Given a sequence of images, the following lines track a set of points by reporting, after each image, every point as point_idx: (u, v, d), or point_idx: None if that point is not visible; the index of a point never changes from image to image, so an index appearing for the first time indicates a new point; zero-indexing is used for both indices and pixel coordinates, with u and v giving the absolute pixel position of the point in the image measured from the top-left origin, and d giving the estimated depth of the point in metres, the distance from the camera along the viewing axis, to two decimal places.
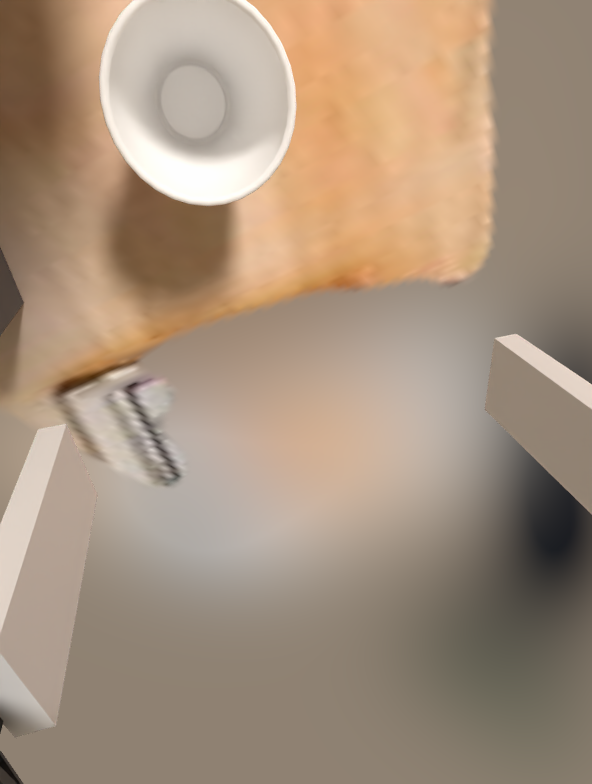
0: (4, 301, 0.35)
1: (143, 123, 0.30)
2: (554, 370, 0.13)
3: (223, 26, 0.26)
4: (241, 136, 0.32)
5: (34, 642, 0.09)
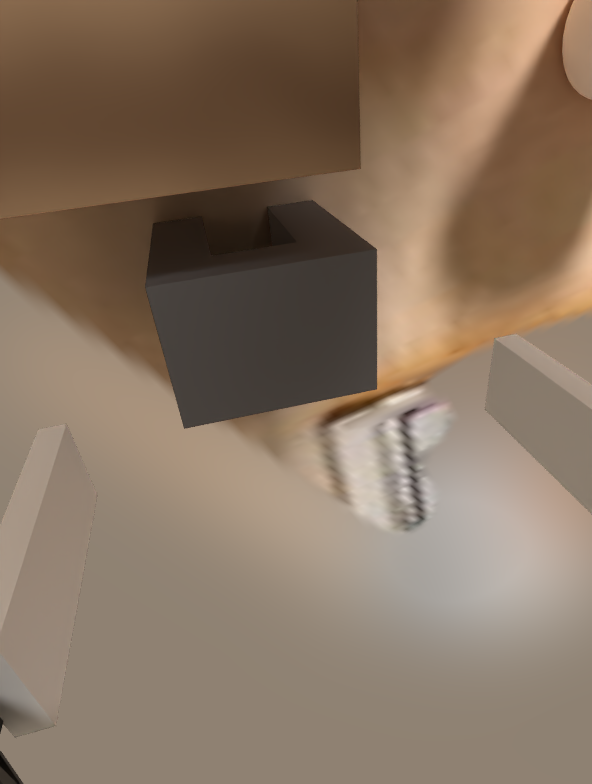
0: None
1: None
2: (554, 370, 0.13)
3: None
4: None
5: (34, 642, 0.09)
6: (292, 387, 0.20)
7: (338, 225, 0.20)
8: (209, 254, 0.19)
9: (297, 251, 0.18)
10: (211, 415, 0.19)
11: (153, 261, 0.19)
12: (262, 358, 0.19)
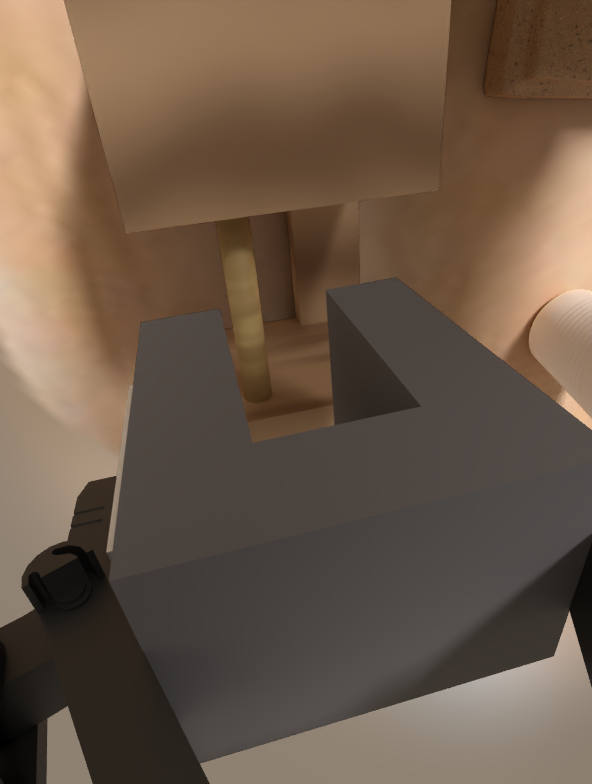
0: None
1: None
2: None
3: None
4: None
5: None
6: (405, 679, 0.10)
7: (480, 353, 0.11)
8: (248, 437, 0.09)
9: (437, 445, 0.09)
10: (250, 739, 0.10)
11: (134, 453, 0.09)
12: (357, 651, 0.09)
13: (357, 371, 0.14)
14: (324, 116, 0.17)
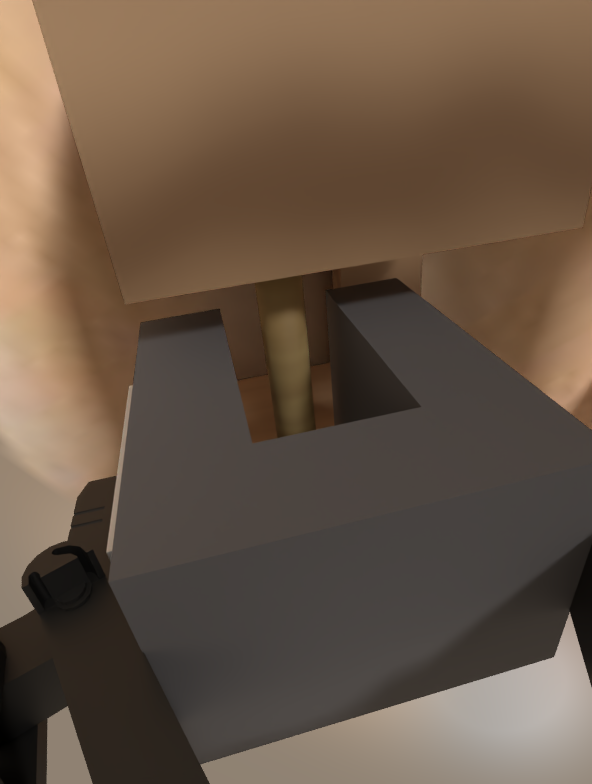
0: None
1: None
2: None
3: None
4: None
5: None
6: (406, 680, 0.10)
7: (480, 354, 0.11)
8: (248, 437, 0.09)
9: (437, 445, 0.09)
10: (250, 740, 0.10)
11: (134, 454, 0.09)
12: (356, 652, 0.09)
13: (357, 372, 0.14)
14: (431, 123, 0.11)
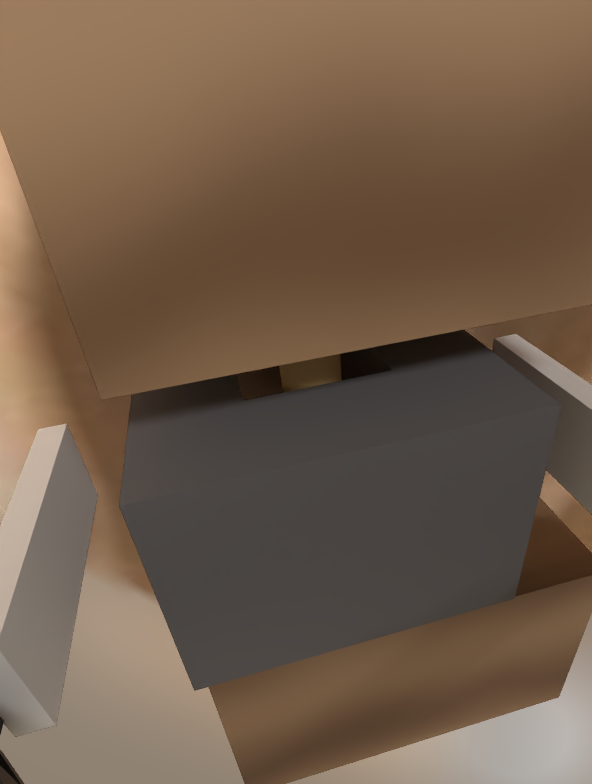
0: None
1: None
2: (553, 370, 0.13)
3: None
4: None
5: (34, 642, 0.09)
6: (380, 615, 0.11)
7: None
8: (239, 396, 0.10)
9: (403, 399, 0.10)
10: (241, 667, 0.11)
11: (138, 410, 0.10)
12: (335, 584, 0.10)
13: None
14: (543, 143, 0.07)
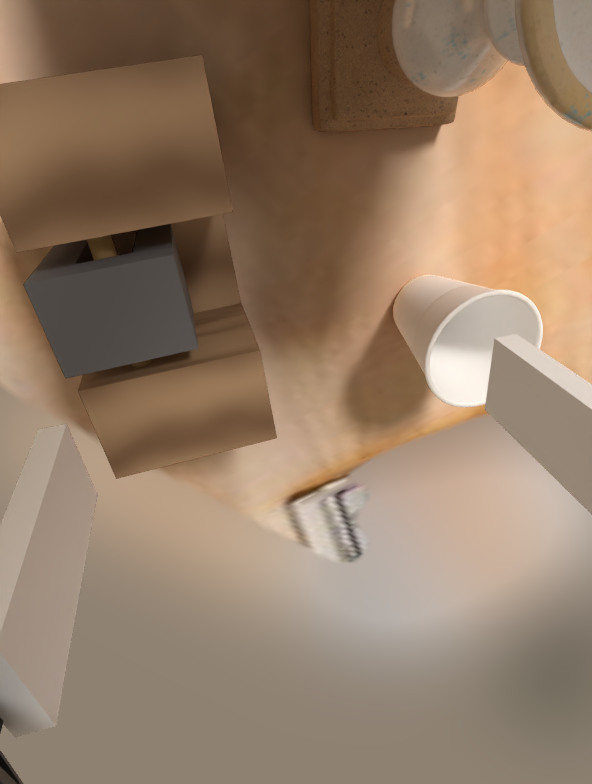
0: (188, 297, 0.35)
1: (406, 336, 0.43)
2: (554, 370, 0.13)
3: None
4: (465, 334, 0.45)
5: (34, 642, 0.09)
6: (136, 348, 0.30)
7: (167, 240, 0.31)
8: (74, 263, 0.29)
9: (127, 258, 0.28)
10: (83, 369, 0.29)
11: (38, 269, 0.29)
12: (110, 328, 0.29)
13: None
14: (138, 170, 0.26)
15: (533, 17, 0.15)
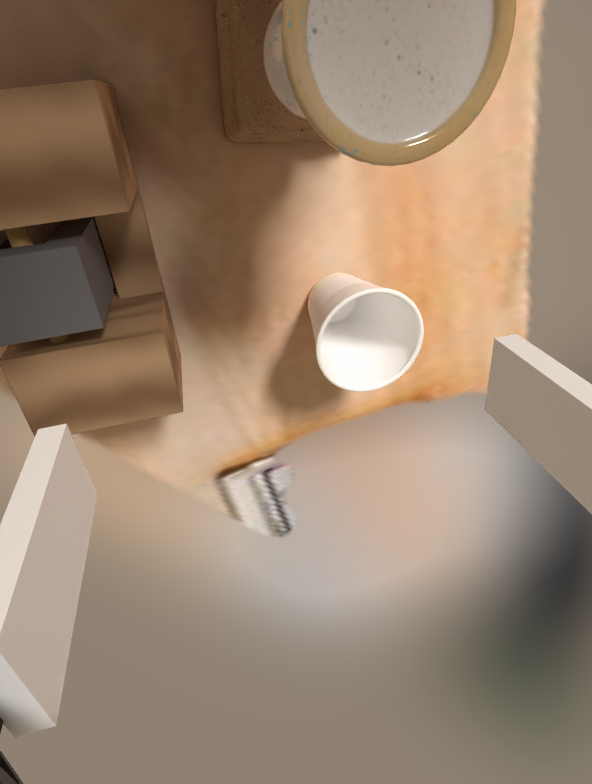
0: (105, 284, 0.40)
1: None
2: (554, 370, 0.13)
3: None
4: (370, 327, 0.50)
5: (34, 642, 0.09)
6: (47, 325, 0.34)
7: (79, 233, 0.35)
8: None
9: (38, 247, 0.33)
10: (0, 341, 0.34)
11: None
12: (23, 307, 0.33)
13: None
14: (43, 173, 0.30)
15: (295, 78, 0.20)
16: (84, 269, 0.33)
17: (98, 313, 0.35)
